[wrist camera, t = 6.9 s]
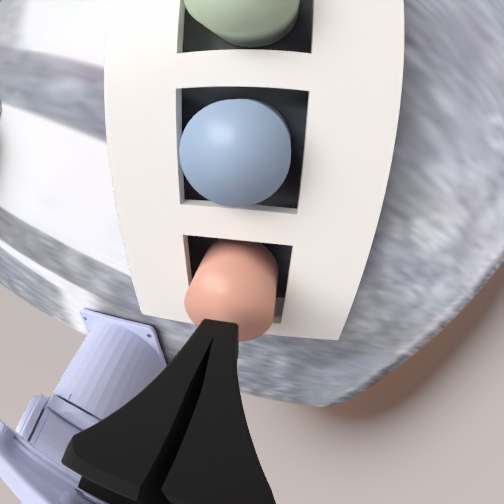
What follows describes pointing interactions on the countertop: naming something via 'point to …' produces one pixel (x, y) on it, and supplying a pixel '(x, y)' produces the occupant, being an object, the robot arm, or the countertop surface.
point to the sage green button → (246, 19)
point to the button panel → (313, 165)
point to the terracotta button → (235, 287)
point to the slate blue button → (236, 151)
